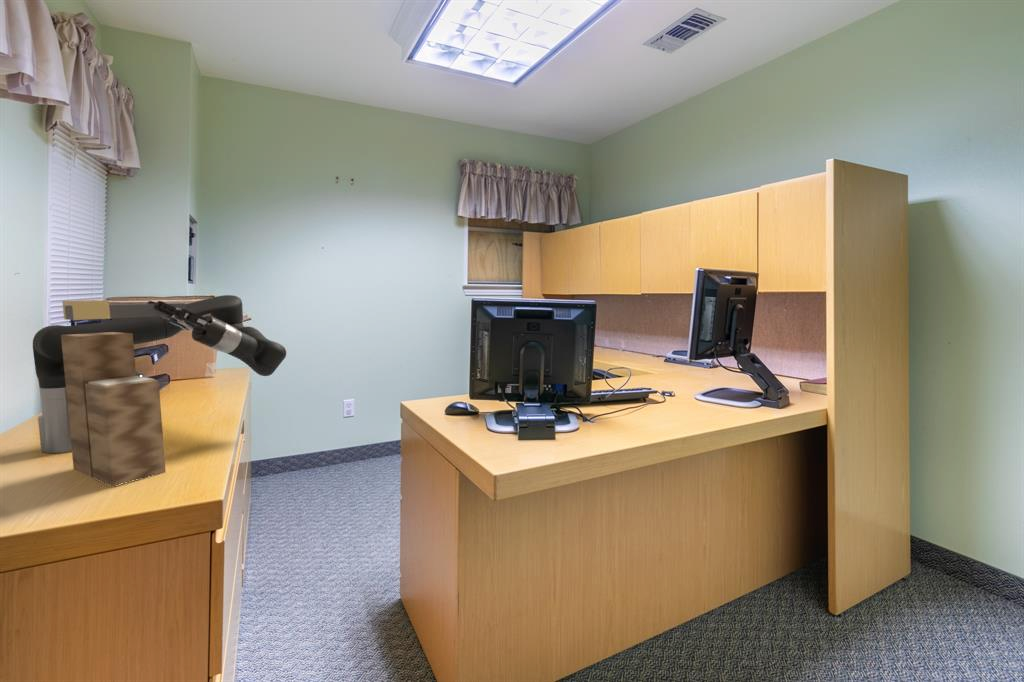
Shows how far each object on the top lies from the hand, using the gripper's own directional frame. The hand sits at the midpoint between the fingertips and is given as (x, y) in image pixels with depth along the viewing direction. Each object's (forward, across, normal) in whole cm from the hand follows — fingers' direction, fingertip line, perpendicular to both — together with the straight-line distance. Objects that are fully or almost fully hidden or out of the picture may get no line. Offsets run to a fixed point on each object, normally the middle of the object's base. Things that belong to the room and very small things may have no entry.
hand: (152, 304), depth 115 cm
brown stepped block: (-12, -1, +38) cm, 40 cm away
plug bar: (+3, 0, +5) cm, 5 cm away
